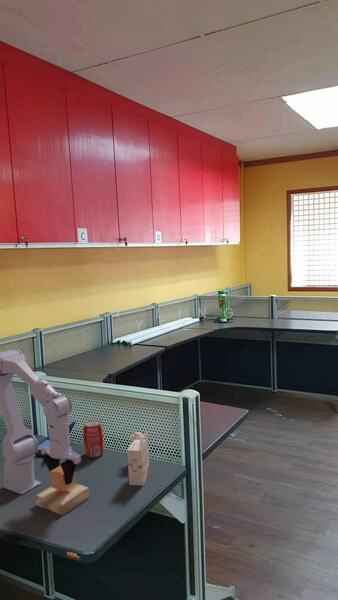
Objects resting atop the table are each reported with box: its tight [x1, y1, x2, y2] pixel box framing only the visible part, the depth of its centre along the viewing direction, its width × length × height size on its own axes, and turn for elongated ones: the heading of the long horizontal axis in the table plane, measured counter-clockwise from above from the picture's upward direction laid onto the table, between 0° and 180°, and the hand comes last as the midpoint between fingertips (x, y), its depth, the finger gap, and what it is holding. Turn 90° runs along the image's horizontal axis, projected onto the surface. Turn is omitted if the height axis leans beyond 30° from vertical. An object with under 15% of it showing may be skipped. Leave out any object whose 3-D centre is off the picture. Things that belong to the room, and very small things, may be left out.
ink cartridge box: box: [126, 431, 150, 487], centre depth 149 cm, size 9×5×15 cm, turn 168°
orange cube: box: [49, 465, 76, 491], centre depth 137 cm, size 5×5×5 cm
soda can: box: [82, 419, 104, 458], centre depth 169 cm, size 7×7×12 cm
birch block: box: [35, 482, 90, 516], centre depth 137 cm, size 11×11×4 cm
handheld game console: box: [35, 420, 76, 458], centre depth 176 cm, size 16×13×9 cm
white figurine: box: [129, 428, 144, 443], centre depth 161 cm, size 9×4×12 cm, turn 36°
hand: (62, 481), depth 137 cm, fingers closed on orange cube, 5 cm apart
